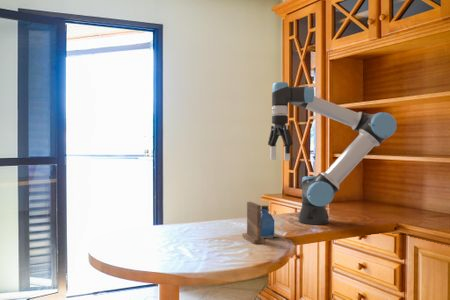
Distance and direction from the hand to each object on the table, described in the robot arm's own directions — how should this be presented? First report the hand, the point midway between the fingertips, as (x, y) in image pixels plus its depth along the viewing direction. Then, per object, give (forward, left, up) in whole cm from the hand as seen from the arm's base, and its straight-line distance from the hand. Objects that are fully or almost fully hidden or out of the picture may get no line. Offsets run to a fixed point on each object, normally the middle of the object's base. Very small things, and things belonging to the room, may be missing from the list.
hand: (279, 160), depth 187 cm
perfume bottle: (+15, +14, -31) cm, 37 cm away
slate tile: (+15, +14, -32) cm, 38 cm away
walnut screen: (+22, +20, -32) cm, 43 cm away
